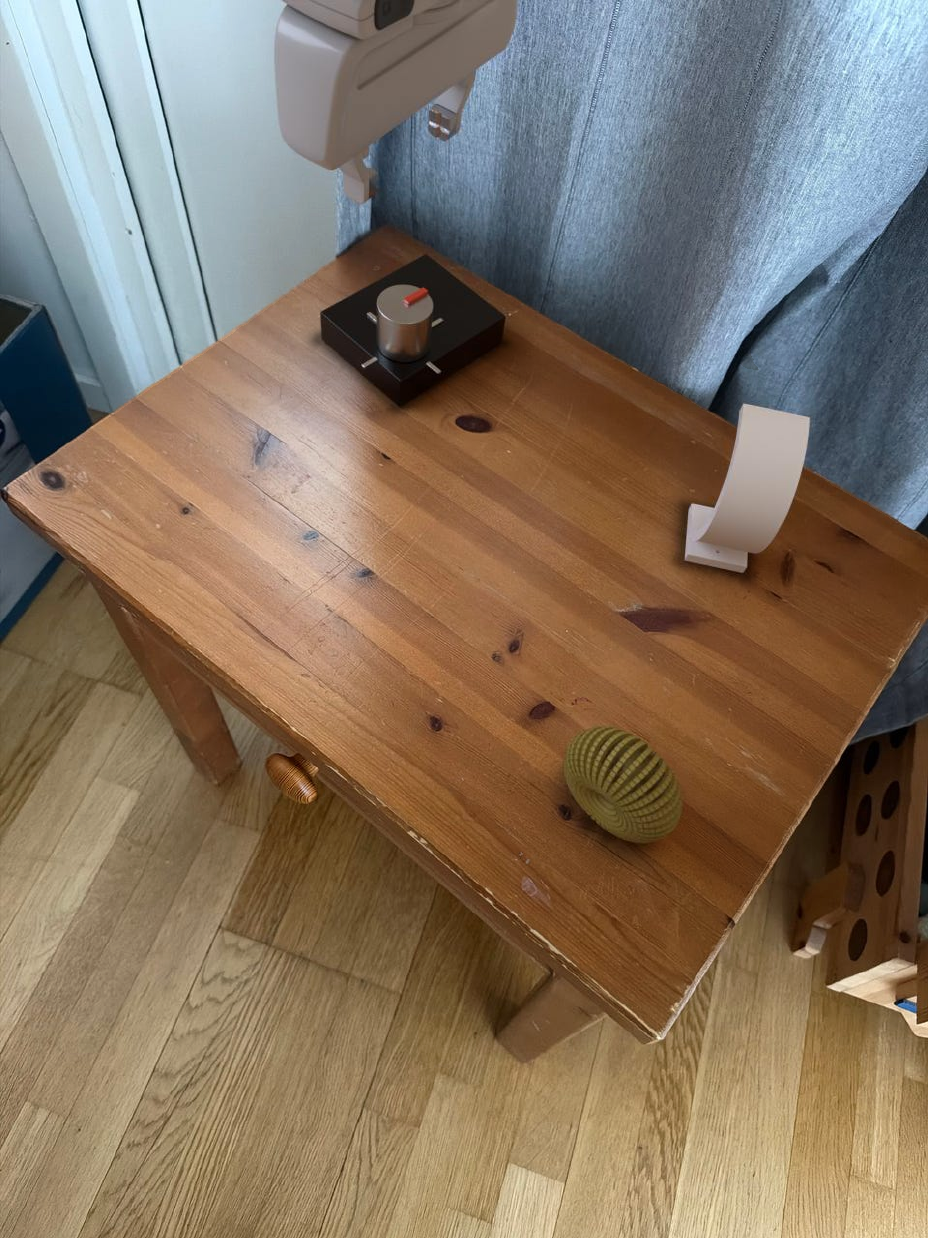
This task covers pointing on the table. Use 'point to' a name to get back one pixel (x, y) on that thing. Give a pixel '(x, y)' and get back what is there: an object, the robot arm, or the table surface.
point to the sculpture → (623, 784)
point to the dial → (404, 323)
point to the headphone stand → (751, 490)
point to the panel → (455, 337)
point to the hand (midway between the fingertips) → (403, 163)
